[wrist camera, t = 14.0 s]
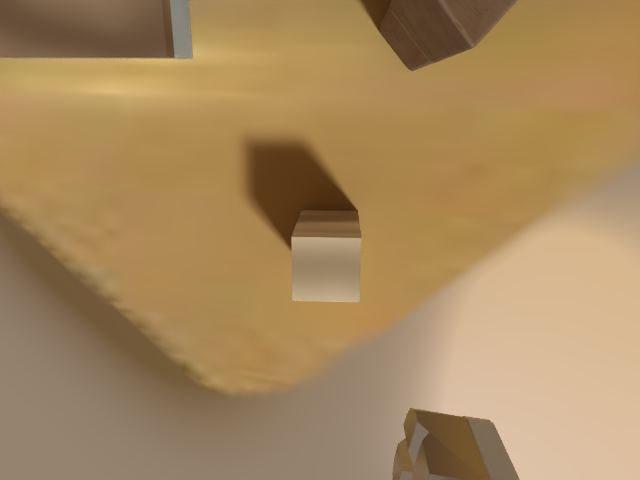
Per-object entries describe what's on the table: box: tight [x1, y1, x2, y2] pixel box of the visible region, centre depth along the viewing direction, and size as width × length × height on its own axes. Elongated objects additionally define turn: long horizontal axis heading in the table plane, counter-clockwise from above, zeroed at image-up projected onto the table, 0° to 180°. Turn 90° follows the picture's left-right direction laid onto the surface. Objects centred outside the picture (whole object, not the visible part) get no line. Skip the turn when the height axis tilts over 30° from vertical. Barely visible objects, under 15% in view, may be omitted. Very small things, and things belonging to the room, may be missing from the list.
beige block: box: [291, 210, 361, 302], centre depth 29 cm, size 4×4×6 cm
